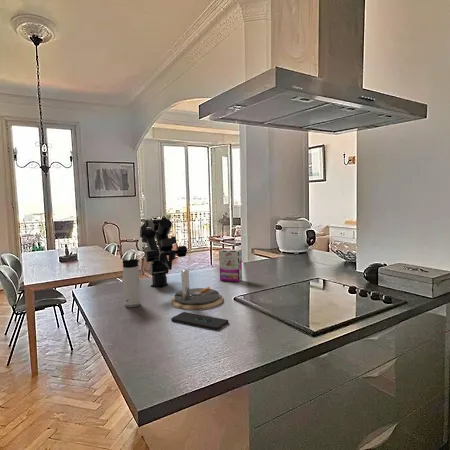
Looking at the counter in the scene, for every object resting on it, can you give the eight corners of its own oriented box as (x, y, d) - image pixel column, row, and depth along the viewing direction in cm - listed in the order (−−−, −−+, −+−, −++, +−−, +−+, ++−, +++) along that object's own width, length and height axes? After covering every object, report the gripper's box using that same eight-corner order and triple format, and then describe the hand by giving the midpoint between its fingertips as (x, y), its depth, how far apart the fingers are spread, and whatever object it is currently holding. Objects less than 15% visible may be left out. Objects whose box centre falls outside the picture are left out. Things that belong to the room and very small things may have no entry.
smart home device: (217, 327, 117) (170, 318, 127) (217, 332, 117) (170, 322, 127) (229, 319, 124) (183, 311, 134) (229, 324, 125) (183, 315, 134)
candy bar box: (242, 280, 184) (242, 249, 183) (239, 282, 180) (238, 251, 178) (223, 278, 189) (222, 248, 187) (219, 280, 184) (218, 250, 182)
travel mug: (126, 308, 142) (124, 260, 141) (123, 304, 148) (121, 257, 146) (142, 306, 145) (139, 258, 143) (138, 302, 151) (136, 256, 149)
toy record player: (191, 289, 163) (191, 260, 162) (227, 294, 154) (226, 264, 153) (165, 301, 146) (164, 269, 145) (203, 307, 137) (202, 273, 136)
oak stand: (160, 305, 145) (160, 302, 145) (188, 291, 165) (188, 288, 165) (207, 312, 136) (207, 309, 135) (231, 296, 156) (231, 293, 155)
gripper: (144, 233, 156) (150, 263, 148) (184, 228, 163) (193, 256, 154) (143, 247, 165) (149, 276, 156) (181, 242, 171) (189, 269, 163)
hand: (170, 269), depth 157 cm, fingers closed
